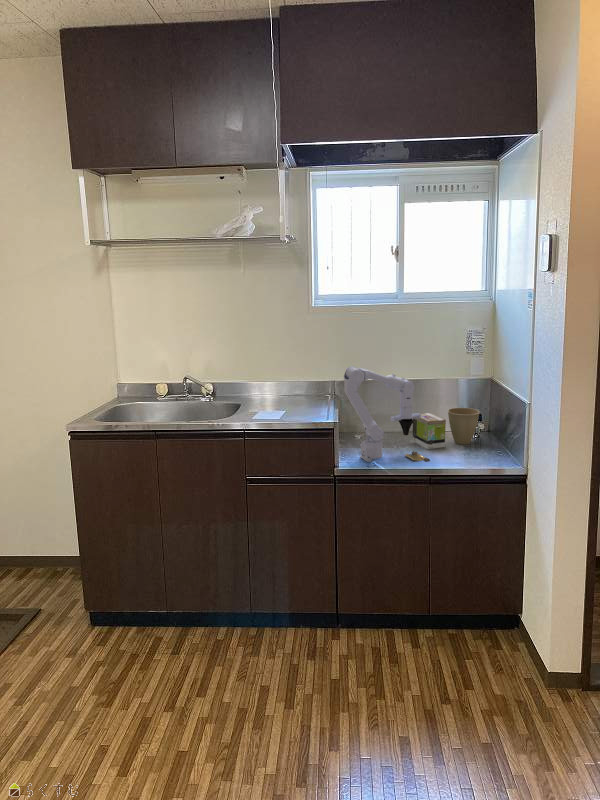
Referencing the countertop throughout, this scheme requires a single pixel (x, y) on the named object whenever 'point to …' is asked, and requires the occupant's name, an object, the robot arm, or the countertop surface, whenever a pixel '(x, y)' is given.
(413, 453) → the hinge base
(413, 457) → the tan flat block
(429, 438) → the tea box
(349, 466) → the countertop surface
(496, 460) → the countertop surface
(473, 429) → the plant pot
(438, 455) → the countertop surface
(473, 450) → the countertop surface
